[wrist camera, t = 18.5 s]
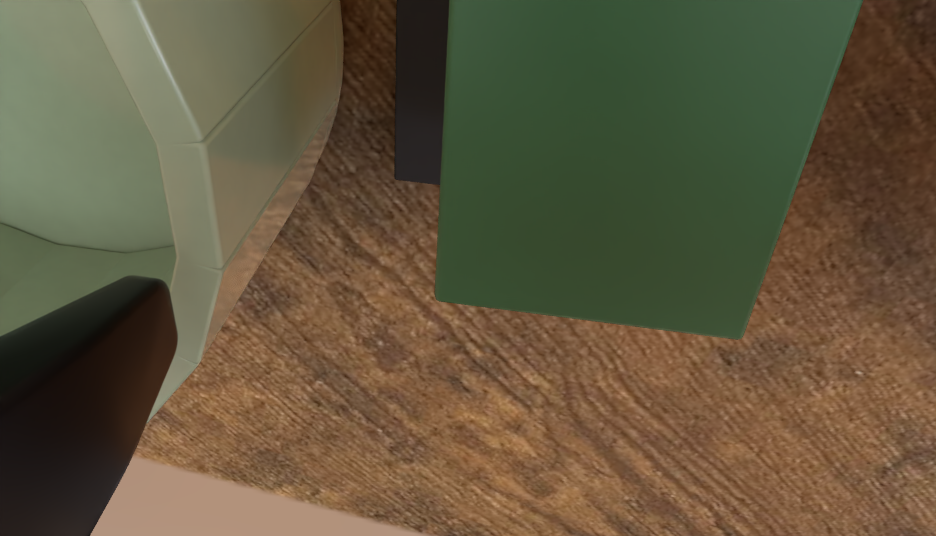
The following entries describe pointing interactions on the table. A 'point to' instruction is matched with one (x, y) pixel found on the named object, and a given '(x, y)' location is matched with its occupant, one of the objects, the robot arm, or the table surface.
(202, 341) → the bowl
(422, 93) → the mat
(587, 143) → the sponge
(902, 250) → the table surface
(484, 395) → the table surface
